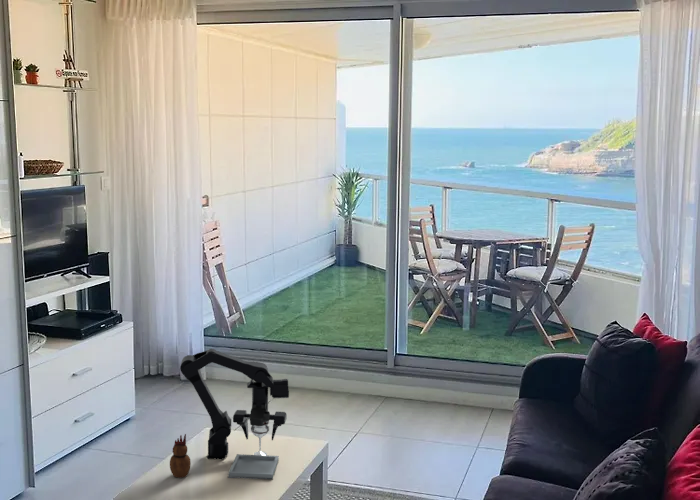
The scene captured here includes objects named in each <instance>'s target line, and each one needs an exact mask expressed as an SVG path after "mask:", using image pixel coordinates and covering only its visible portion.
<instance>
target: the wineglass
mask: <svg viewBox="0 0 700 500" xmlns="http://www.w3.org/2000/svg"><path fill="white" fill-rule="evenodd" d="M269 424H270V420H269V421H266V422H264V425H262V426H259V425H250V431H251V433H252V434H253V436H256V437H257V438H258V445H259V446H258V447H259V448H258V449H259V450H258V452H257V451H255V452H253V453H254V455H268V453H267V452H266V451H263V450H262V448H261V446H262V438H263V437H266V436H267V435H268V433H269V432H270V425H269Z"/></svg>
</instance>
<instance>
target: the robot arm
mask: <svg viewBox="0 0 700 500" xmlns="http://www.w3.org/2000/svg"><path fill="white" fill-rule="evenodd" d="M209 364H216V365H218V366H221V367H224V368H227V369H230V370H233V371H236V372H238V373H241V374H243V375H245V376H246V377H247V378H249V379H250V381H248V382H247V383H246V387H247V389H252V390H251V409H250V413H248V411H247V410H244V409H243V410H242V409H237V410H235V412H234V414H233V417H232V418H231V417H230V416H229V413H228V411H227V410H225V411H223V410H221V409H220V408H219V406H218V404H217V402H216V399H215V398H214V396H213V395H212V392H211V391H210V389H209V387H208V385H207V384H206V382H205V379H204V378H203V375H202V371H201V369H203V368H204V367H206V366H208V365H209ZM179 368H180V369H179V371H180V372H181V374H182V375H183V377H184V378H185V379H186V380H187V381H188V382H190V383H191V384H192V386H193V388H194V389H195V392H196V393H197V395H198V397H199V399H200V401H201V403H202V405H203V406H204V409H205V410H206V411H207V414H208V415H209V417H210V420H211V426H212V427H211V428H210V429H209V431H208V432H209V435H208V440H207V456H206V459H208V460H226V457H227V456H228V454H229V442H228V440H227V439H228V437H229V436H230V435H231V432H232V422H233V423H235V424H236V425H239V426H240V427H241V429H242V430H243V433H244V435H245V439H246V440H249V425H250V426H252V425H259V426H262V425H264V422H266V421H269V422H270V421H273V424H272V433H271V441H274V438H275V436H276V432H277V430H278V429H279V427H281V426H282V425H285V424H286V423H287V422H286V421H287V412H285V411H275V413H274V414H270V411H269V396H270V397H272V399H289V397H290V390H289V379H288V378H283V379H274V378H273V376H272V375H271V373H270V372H269V368H268V366H267V364H266V363H264V362H259V361H254V360H253V361H251V360H250V361H249V360H243V359H241V358H238V357H235V356H234V355H229V354H227V353H225V352H221V351H218V350H216V349H214V348H209V349H207V350H204V351H200V352H198V353H195V354H193V355H191V354H189V355H186V356H184V357H183V358H182V359H181V361H180V365H179ZM248 420H249V423H248ZM248 424H249V425H248Z"/></svg>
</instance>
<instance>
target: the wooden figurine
mask: <svg viewBox="0 0 700 500" xmlns="http://www.w3.org/2000/svg"><path fill="white" fill-rule="evenodd" d="M172 453H173V454H172V455H171V456H170V459H169V469H170V472H171V474H172V476H173V477H175V478H179V479H182V478H186V477H187V476H188V475H189V473H190V469H191V458H190V456H189V454H188V447H187V433H184V436H183V437H182V434H180V436H179V438H177V439H175V441H174V445H173V447H172Z"/></svg>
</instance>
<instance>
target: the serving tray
mask: <svg viewBox="0 0 700 500" xmlns="http://www.w3.org/2000/svg"><path fill="white" fill-rule="evenodd" d="M279 459H280V458H279V455H270V454H269V455H268V454H267V455H253V454H243V453H241V454H239V453H237V454H236V456H235V458H234V460H233V462H232V463H231V467H230V469H229V471H228V473H227V474H228V477H227V478H229V479H253V480H273V479H274V476H275V472H276V470H277V467H278V464H279Z"/></svg>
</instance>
